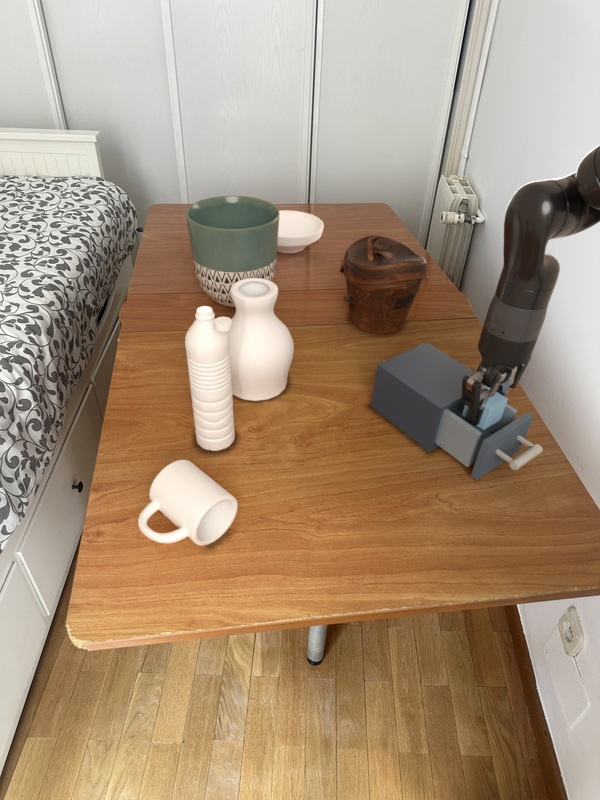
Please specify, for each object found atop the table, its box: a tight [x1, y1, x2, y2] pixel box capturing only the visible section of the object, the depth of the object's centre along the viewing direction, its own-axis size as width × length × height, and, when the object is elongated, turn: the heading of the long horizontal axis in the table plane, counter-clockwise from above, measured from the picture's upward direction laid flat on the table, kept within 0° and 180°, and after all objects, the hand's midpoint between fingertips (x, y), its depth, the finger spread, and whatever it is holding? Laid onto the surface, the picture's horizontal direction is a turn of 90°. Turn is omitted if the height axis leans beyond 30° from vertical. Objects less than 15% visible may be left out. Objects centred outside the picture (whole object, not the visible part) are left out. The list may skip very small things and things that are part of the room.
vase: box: [225, 278, 295, 402], centre depth 98 cm, size 14×14×20 cm
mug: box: [137, 459, 239, 547], centre depth 74 cm, size 12×10×8 cm
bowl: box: [277, 209, 325, 254], centre depth 151 cm, size 20×20×7 cm
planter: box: [185, 195, 280, 308], centre depth 121 cm, size 20×20×21 cm
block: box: [462, 385, 509, 430], centre depth 86 cm, size 4×4×4 cm
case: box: [338, 234, 429, 334], centre depth 118 cm, size 18×20×18 cm
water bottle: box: [184, 305, 236, 452], centre depth 83 cm, size 9×6×25 cm
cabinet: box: [370, 341, 484, 453], centre depth 95 cm, size 15×13×10 cm
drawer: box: [435, 401, 543, 481], centre depth 88 cm, size 18×11×8 cm, turn 37°
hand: (481, 416), depth 87 cm, fingers closed on block, 4 cm apart
